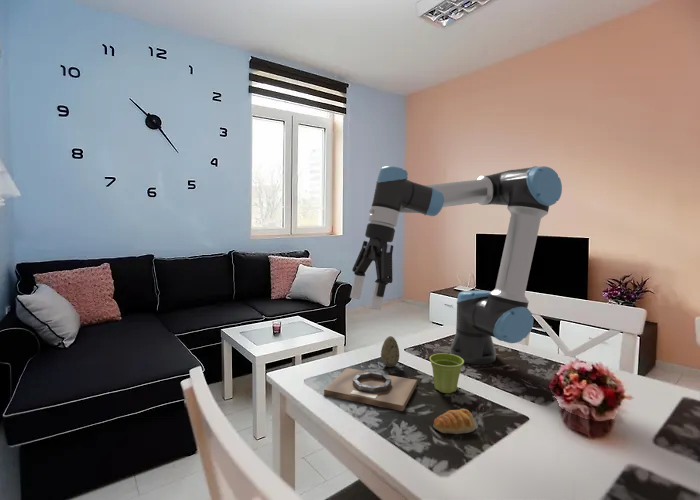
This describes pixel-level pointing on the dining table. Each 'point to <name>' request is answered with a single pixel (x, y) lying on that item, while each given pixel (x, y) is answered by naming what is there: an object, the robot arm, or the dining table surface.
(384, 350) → the decorative egg
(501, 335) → the robot arm
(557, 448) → the dining table surface
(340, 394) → the walnut board
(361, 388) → the ring socket
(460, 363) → the plant pot
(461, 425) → the pastry
